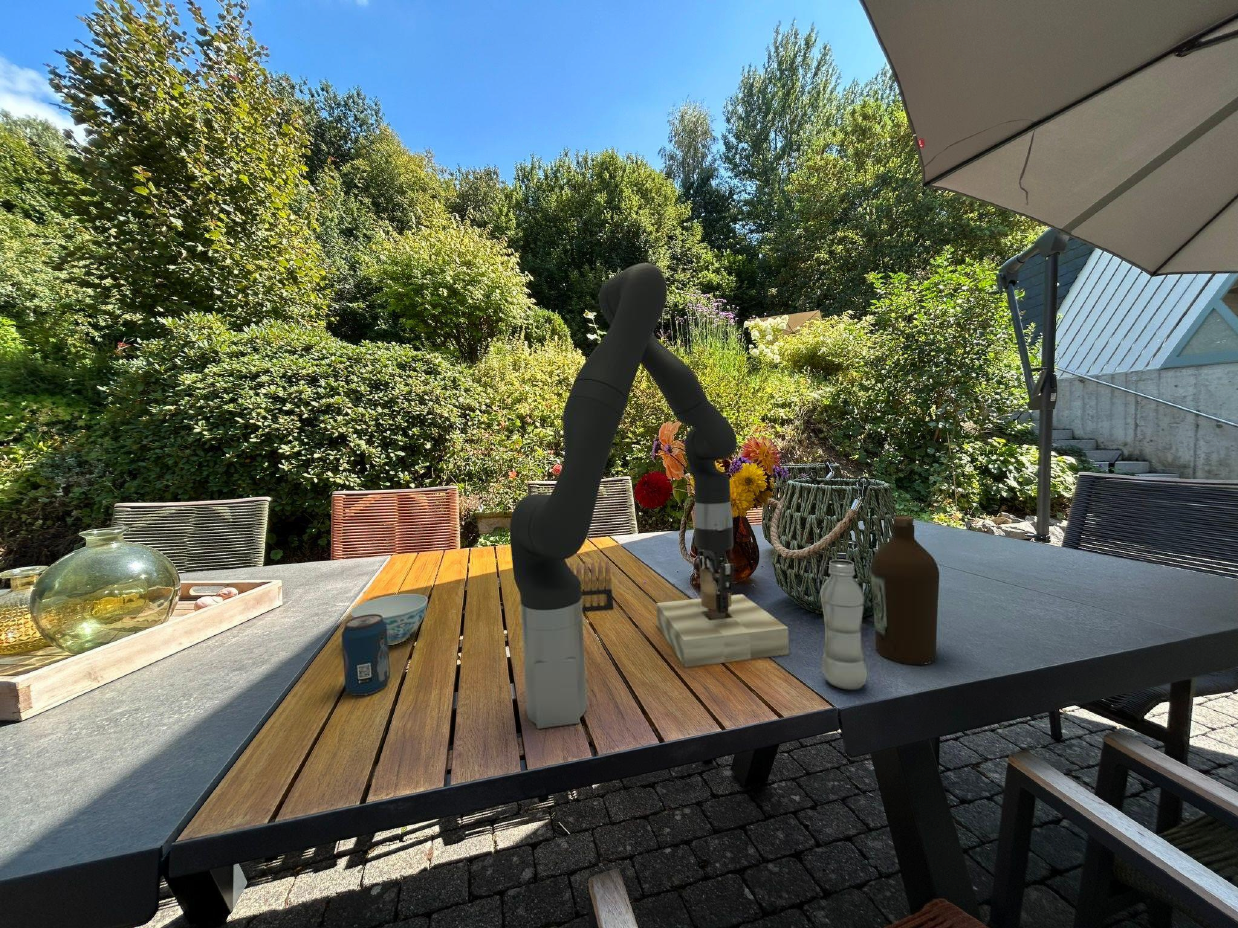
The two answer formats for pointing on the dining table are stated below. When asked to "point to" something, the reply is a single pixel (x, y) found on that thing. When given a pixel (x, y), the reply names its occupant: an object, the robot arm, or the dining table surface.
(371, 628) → the soda can
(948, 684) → the dining table surface
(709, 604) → the peg
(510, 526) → the robot arm
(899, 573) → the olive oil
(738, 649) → the board
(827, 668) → the plastic bottle
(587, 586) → the ammunition clip
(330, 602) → the dining table surface
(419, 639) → the dining table surface
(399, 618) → the chinaware
